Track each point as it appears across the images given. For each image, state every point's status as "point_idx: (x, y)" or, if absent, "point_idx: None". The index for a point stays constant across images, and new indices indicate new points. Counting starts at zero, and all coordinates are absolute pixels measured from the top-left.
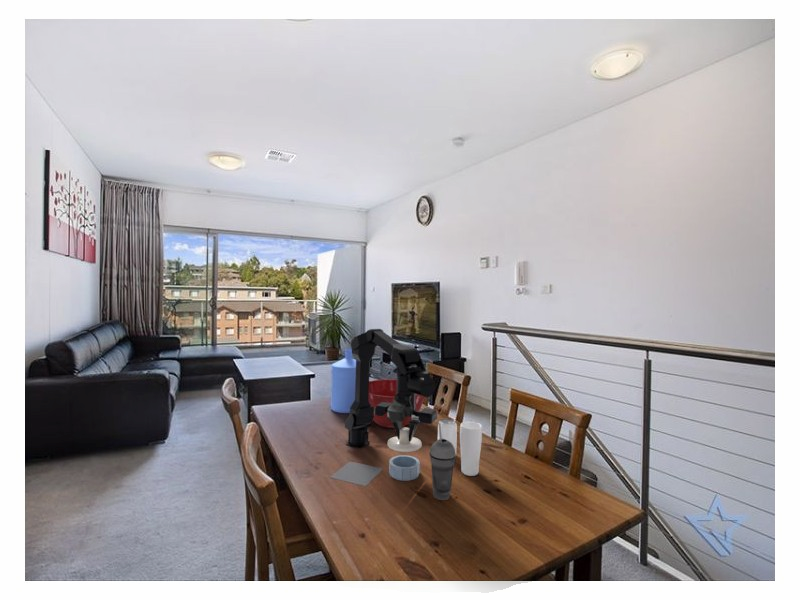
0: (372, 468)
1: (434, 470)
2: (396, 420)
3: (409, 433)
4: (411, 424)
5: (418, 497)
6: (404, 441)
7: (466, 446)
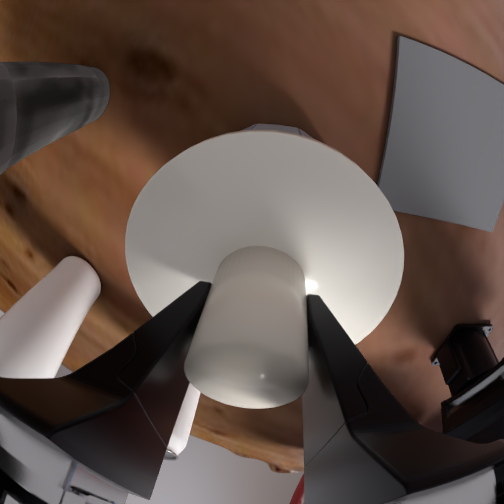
0: (418, 196)
1: (20, 62)
2: (359, 475)
3: (175, 327)
4: (61, 398)
5: (152, 39)
6: (242, 262)
7: (19, 314)
